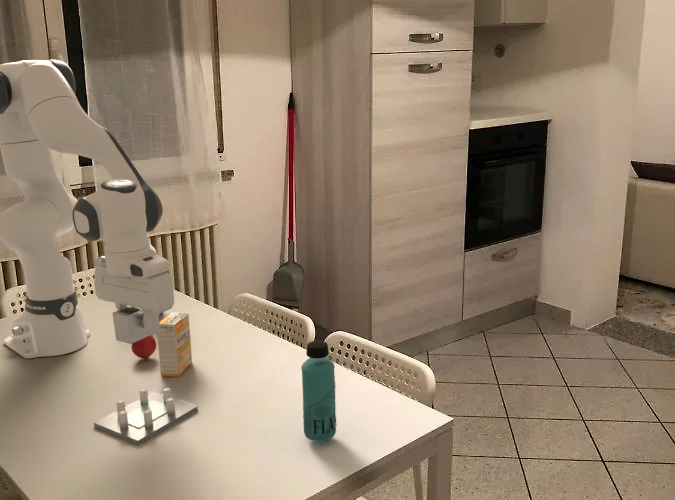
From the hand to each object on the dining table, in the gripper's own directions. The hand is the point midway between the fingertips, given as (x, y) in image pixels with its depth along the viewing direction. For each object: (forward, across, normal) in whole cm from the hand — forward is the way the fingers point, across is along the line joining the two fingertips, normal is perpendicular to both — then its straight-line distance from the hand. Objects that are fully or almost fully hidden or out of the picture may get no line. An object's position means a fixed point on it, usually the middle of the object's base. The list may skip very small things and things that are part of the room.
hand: (137, 324), depth 146 cm
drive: (+2, 0, 0) cm, 2 cm away
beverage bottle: (+19, +40, +7) cm, 45 cm away
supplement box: (+18, -7, +16) cm, 25 cm away
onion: (+18, -18, +16) cm, 30 cm away
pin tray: (+18, +5, -4) cm, 19 cm away
